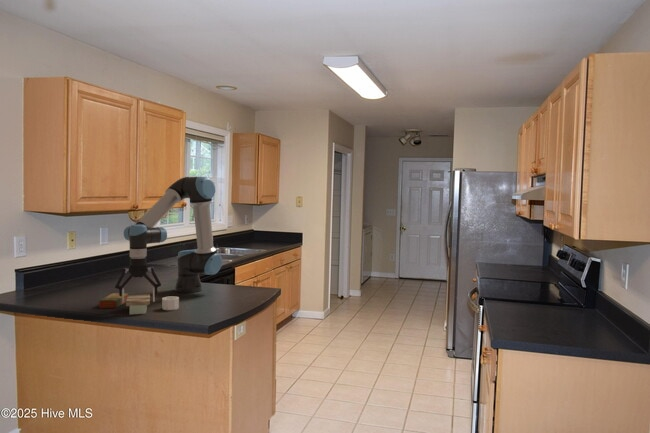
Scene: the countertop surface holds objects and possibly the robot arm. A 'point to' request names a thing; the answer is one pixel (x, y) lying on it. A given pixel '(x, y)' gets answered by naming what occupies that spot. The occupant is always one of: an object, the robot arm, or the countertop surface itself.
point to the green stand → (138, 309)
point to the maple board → (138, 300)
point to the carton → (112, 301)
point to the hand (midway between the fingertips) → (138, 302)
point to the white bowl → (170, 303)
